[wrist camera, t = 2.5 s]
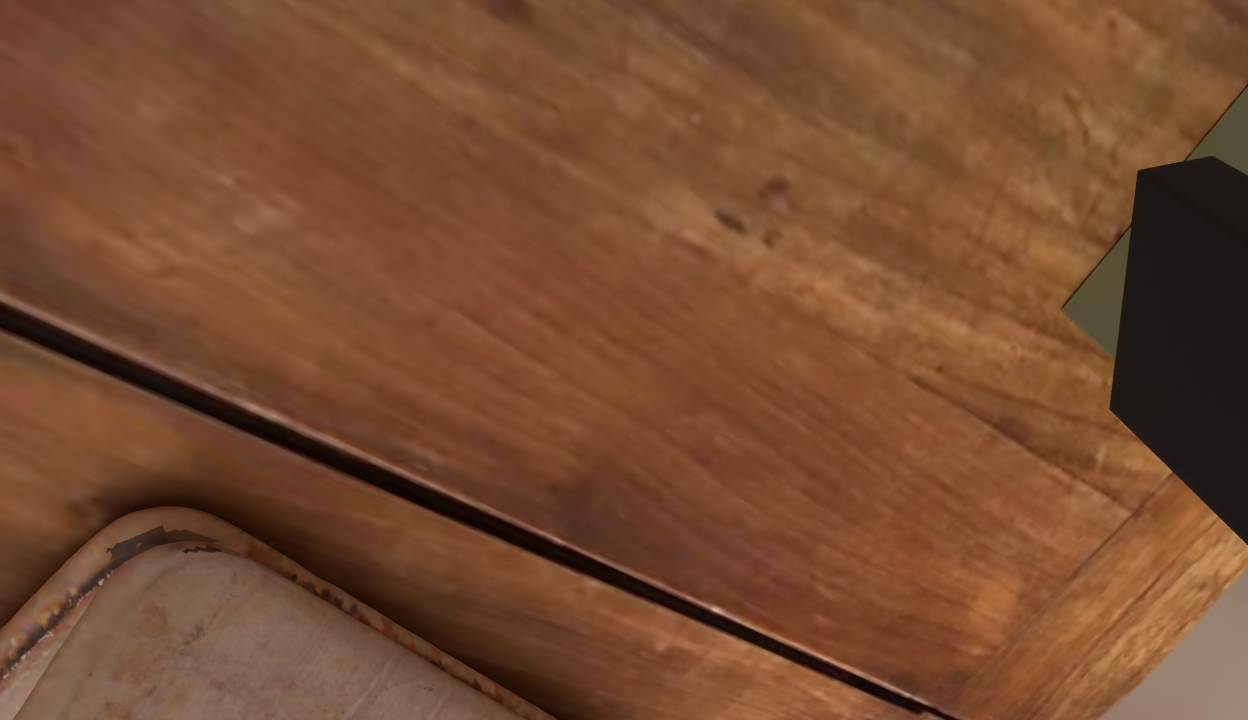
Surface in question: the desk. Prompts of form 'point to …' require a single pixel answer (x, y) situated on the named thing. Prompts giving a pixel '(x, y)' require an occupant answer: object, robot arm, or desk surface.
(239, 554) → the case
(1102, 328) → the shelf
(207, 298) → the desk surface
